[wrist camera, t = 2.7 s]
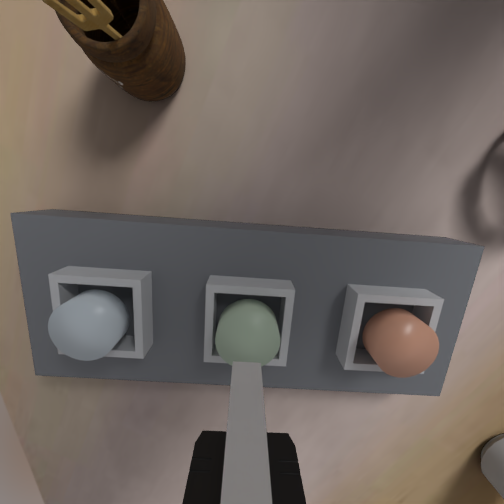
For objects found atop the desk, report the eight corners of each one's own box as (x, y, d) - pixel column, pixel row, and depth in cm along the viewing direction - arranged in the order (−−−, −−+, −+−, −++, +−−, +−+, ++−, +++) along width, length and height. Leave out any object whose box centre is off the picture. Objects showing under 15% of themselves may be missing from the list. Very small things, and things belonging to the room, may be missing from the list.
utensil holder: (168, 3, 19) (35, -306, 7) (201, 91, 20) (136, -45, 9) (98, 35, 19) (-136, -207, 8) (135, 119, 21) (-13, 26, 9)
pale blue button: (66, 287, 18) (43, 299, 16) (128, 291, 18) (113, 303, 16) (72, 341, 19) (51, 359, 17) (131, 345, 19) (117, 362, 17)
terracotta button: (367, 306, 18) (381, 319, 17) (425, 309, 19) (446, 323, 17) (357, 357, 20) (369, 376, 18) (412, 360, 20) (430, 379, 18)
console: (52, 209, 22) (-18, 215, 16) (445, 237, 23) (510, 252, 17) (68, 347, 25) (14, 393, 20) (411, 366, 27) (457, 415, 21)
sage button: (219, 296, 18) (216, 309, 16) (279, 300, 18) (283, 313, 16) (217, 349, 19) (214, 367, 17) (274, 353, 19) (276, 370, 17)
